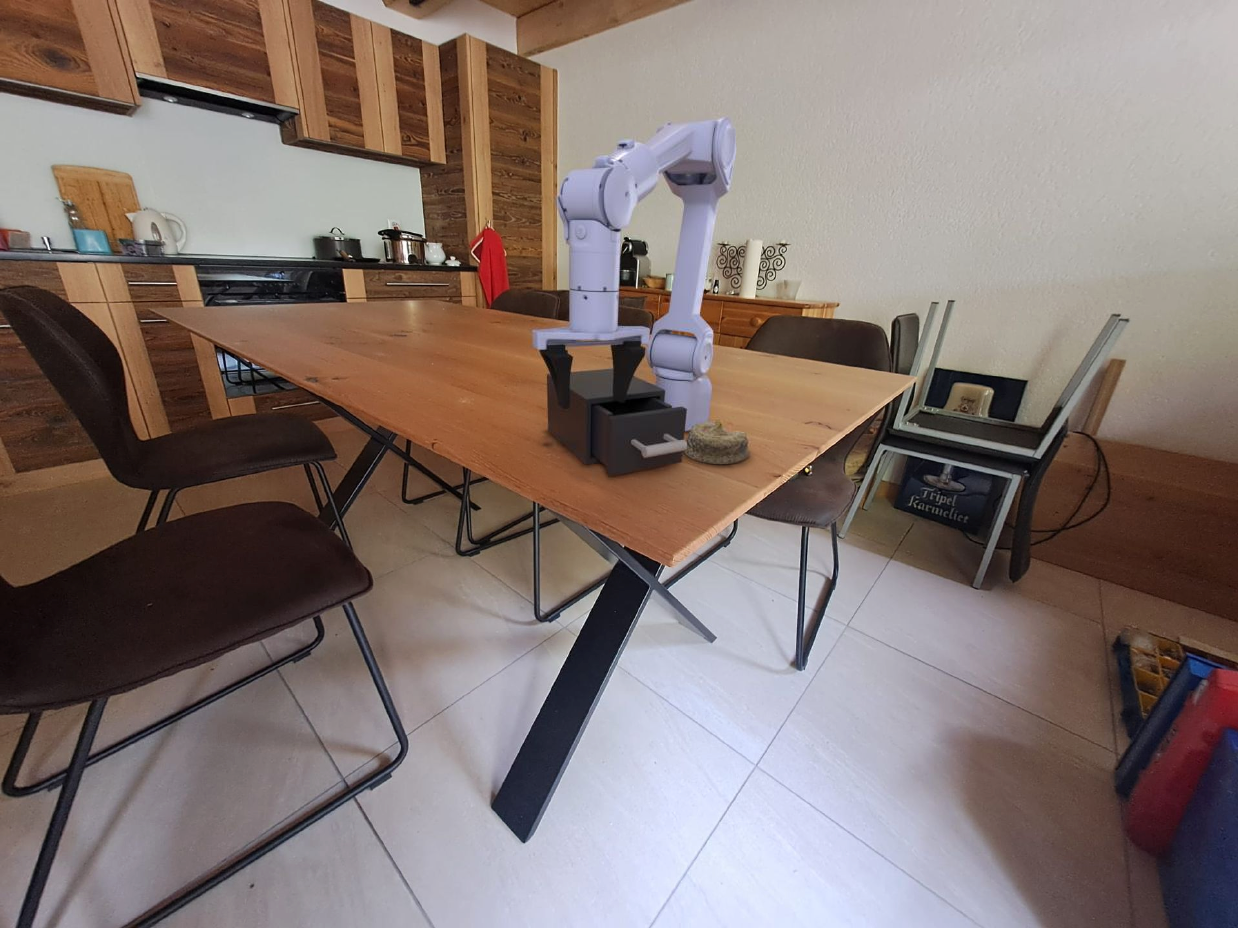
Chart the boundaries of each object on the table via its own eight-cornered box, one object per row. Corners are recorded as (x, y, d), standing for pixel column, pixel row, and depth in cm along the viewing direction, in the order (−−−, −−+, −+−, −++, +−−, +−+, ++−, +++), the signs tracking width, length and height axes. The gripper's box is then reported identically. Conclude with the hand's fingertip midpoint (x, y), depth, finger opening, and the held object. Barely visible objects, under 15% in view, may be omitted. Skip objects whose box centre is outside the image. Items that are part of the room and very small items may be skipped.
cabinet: (660, 451, 72) (665, 390, 68) (585, 465, 66) (586, 399, 62) (615, 421, 83) (617, 368, 79) (547, 431, 78) (546, 373, 74)
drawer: (700, 474, 63) (707, 418, 59) (626, 490, 58) (629, 430, 54) (633, 431, 77) (635, 384, 74) (568, 441, 72) (568, 391, 68)
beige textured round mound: (728, 475, 66) (731, 440, 64) (670, 456, 72) (671, 423, 69) (760, 450, 73) (764, 418, 70) (704, 435, 79) (706, 404, 76)
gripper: (545, 293, 48) (548, 419, 53) (666, 293, 54) (657, 406, 60) (524, 287, 54) (529, 402, 59) (636, 288, 60) (630, 392, 65)
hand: (592, 403), depth 60 cm, fingers open, 7 cm apart
